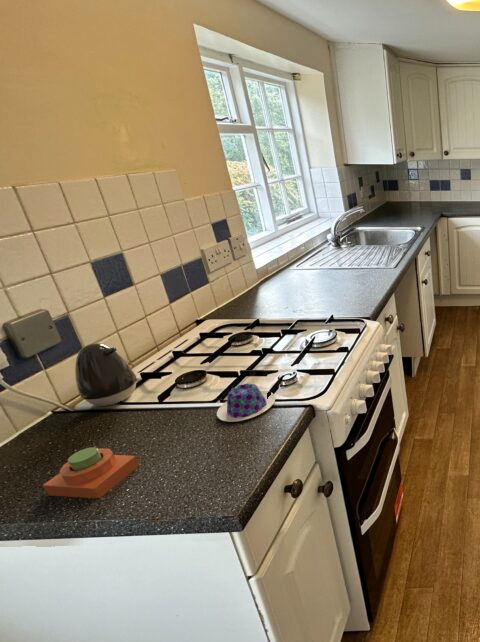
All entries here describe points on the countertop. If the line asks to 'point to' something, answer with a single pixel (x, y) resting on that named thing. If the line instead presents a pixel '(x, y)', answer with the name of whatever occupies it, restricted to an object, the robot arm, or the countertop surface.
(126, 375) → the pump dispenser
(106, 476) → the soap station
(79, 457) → the button
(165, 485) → the countertop surface
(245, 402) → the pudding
